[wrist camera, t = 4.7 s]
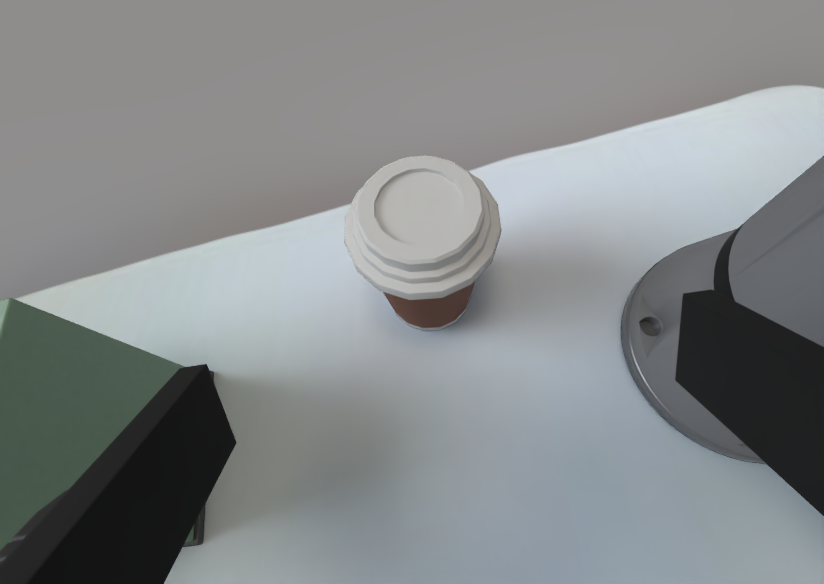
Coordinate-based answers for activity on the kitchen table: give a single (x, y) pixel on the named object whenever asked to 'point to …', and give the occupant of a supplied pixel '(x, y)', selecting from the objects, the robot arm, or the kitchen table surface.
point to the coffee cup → (423, 237)
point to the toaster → (64, 406)
